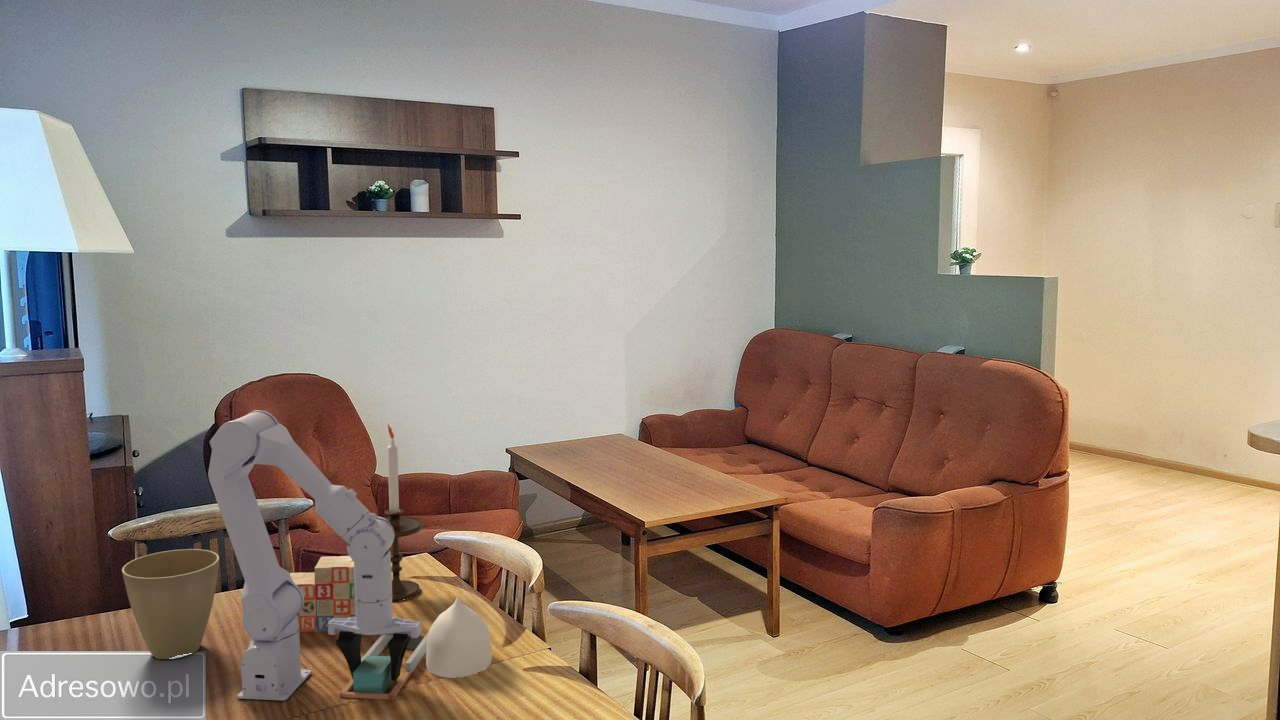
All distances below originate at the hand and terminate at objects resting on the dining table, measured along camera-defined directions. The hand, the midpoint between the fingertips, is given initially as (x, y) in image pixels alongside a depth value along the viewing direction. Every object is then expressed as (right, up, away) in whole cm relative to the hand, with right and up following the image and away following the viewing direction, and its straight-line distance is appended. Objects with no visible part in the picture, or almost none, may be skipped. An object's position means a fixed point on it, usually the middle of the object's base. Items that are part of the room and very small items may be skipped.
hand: (376, 676), depth 146 cm
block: (0, -2, 0) cm, 2 cm away
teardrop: (+12, -1, +8) cm, 14 cm away
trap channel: (+1, 0, +8) cm, 8 cm away
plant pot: (-38, 0, +12) cm, 40 cm away
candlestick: (-7, +3, +38) cm, 39 cm away
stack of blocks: (-16, +1, +23) cm, 28 cm away
